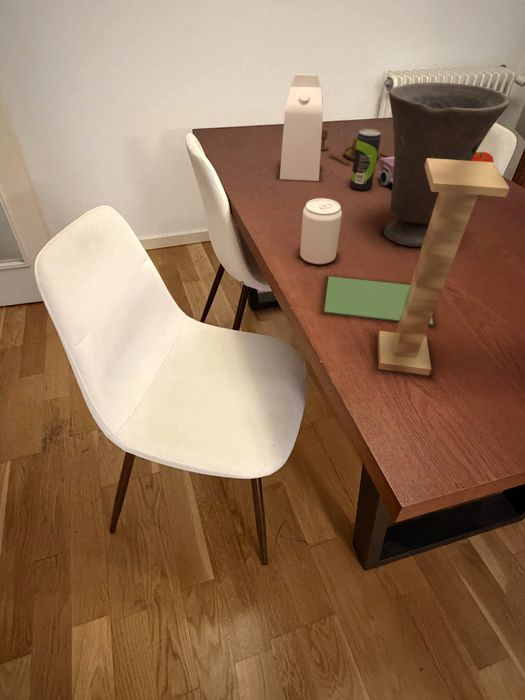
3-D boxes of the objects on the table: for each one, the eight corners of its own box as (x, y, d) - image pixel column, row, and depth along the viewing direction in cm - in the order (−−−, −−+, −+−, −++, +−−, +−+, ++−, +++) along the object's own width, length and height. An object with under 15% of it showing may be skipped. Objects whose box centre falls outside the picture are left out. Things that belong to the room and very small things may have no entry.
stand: (424, 342, 71) (493, 162, 49) (428, 375, 65) (510, 188, 44) (377, 336, 72) (426, 157, 50) (378, 369, 66) (433, 182, 45)
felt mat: (426, 288, 82) (426, 286, 82) (432, 325, 74) (433, 324, 74) (328, 277, 85) (328, 276, 85) (323, 312, 76) (324, 311, 76)
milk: (319, 166, 130) (328, 70, 112) (318, 180, 122) (328, 79, 104) (282, 165, 131) (285, 69, 113) (279, 179, 123) (282, 78, 105)
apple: (465, 183, 121) (479, 144, 113) (490, 193, 116) (506, 153, 108) (446, 189, 117) (459, 150, 110) (471, 200, 112) (486, 159, 105)
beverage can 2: (375, 189, 118) (386, 133, 107) (357, 193, 116) (367, 136, 105) (362, 181, 122) (372, 127, 111) (345, 185, 120) (353, 130, 109)
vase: (472, 237, 97) (530, 93, 76) (422, 270, 87) (473, 114, 66) (397, 207, 109) (429, 75, 88) (345, 233, 99) (367, 91, 78)
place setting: (350, 167, 130) (353, 147, 126) (315, 148, 143) (317, 130, 138) (391, 158, 136) (395, 139, 132) (354, 141, 149) (357, 123, 144)
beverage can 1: (293, 252, 92) (296, 202, 84) (322, 244, 95) (328, 194, 86) (312, 270, 87) (317, 217, 79) (342, 260, 90) (351, 209, 81)
